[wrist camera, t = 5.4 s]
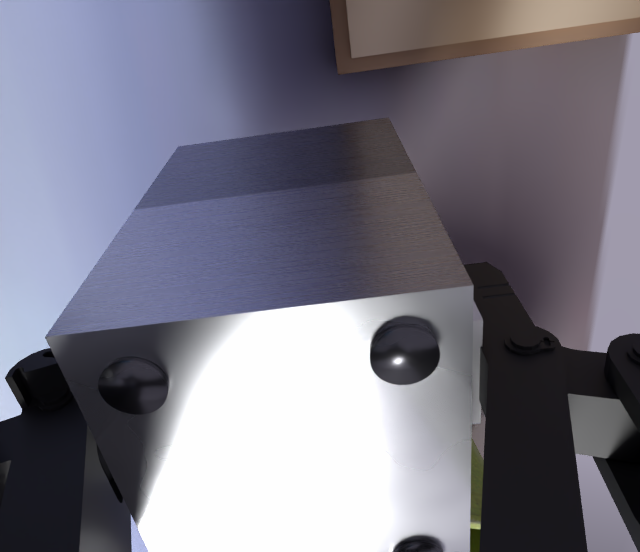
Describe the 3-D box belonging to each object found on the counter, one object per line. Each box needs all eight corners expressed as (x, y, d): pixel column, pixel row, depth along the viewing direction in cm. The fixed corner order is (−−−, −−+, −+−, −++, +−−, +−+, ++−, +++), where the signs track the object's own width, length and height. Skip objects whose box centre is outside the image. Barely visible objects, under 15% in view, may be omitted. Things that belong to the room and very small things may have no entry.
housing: (231, 341, 19) (175, 615, 11) (178, 146, 15) (40, 343, 7) (402, 321, 19) (471, 588, 11) (388, 117, 15) (475, 291, 7)
